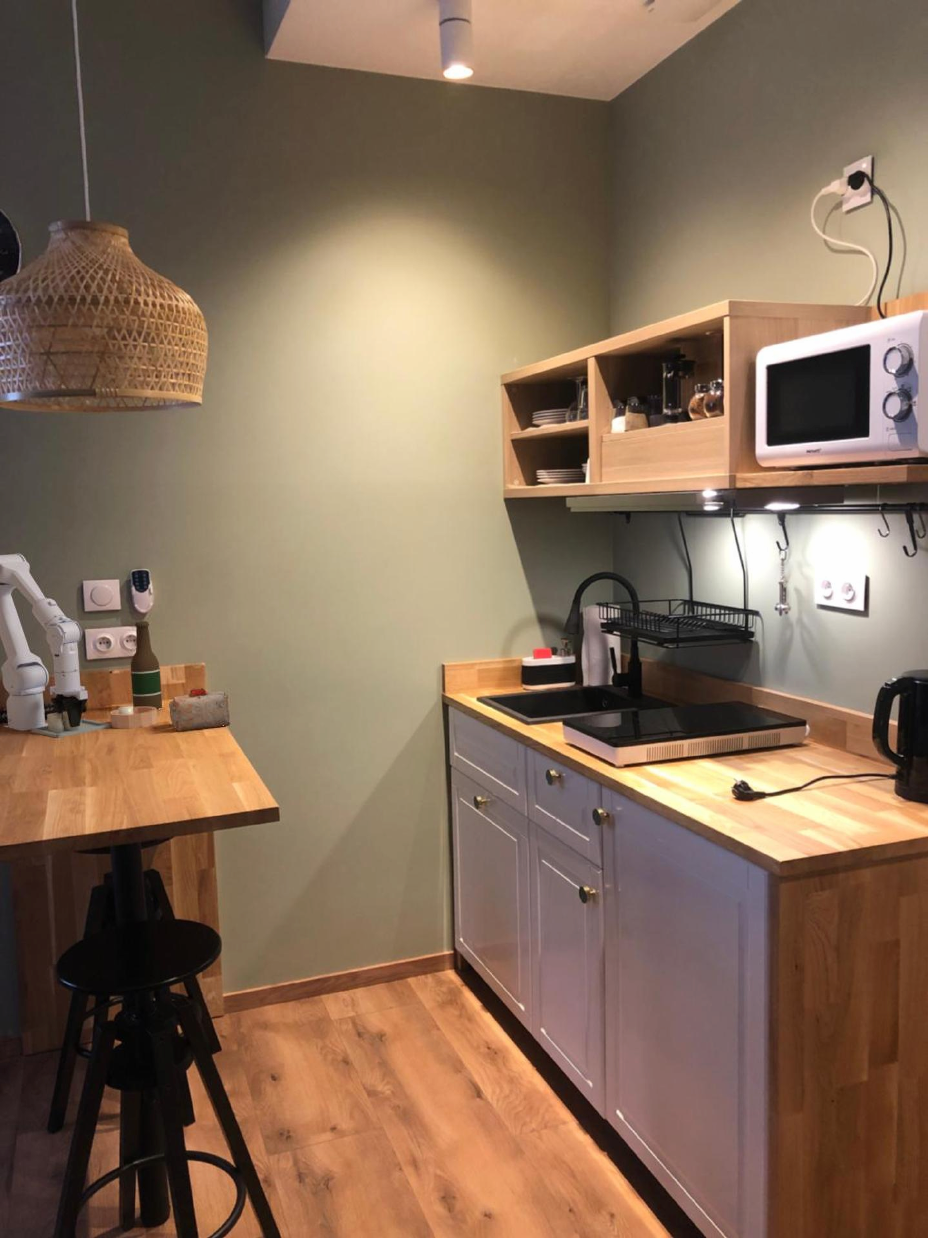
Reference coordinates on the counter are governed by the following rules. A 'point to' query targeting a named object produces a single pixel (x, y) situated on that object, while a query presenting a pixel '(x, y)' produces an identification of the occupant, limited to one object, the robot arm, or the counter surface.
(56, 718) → the white cylinder
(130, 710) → the cream white cylinder
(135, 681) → the beer bottle
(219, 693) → the weathered grey box
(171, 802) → the counter surface
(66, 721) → the glossy cream rounded cylinder
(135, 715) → the bowl
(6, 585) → the robot arm
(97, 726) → the tray
